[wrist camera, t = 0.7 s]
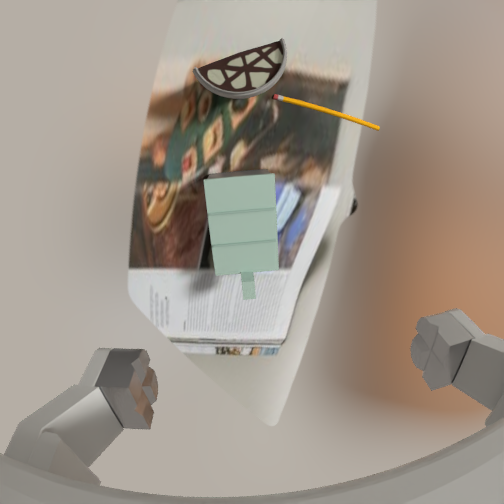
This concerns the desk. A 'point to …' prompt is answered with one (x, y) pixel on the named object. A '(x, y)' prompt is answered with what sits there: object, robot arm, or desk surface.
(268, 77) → the food container
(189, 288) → the desk surface
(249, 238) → the lid
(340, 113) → the pencil
